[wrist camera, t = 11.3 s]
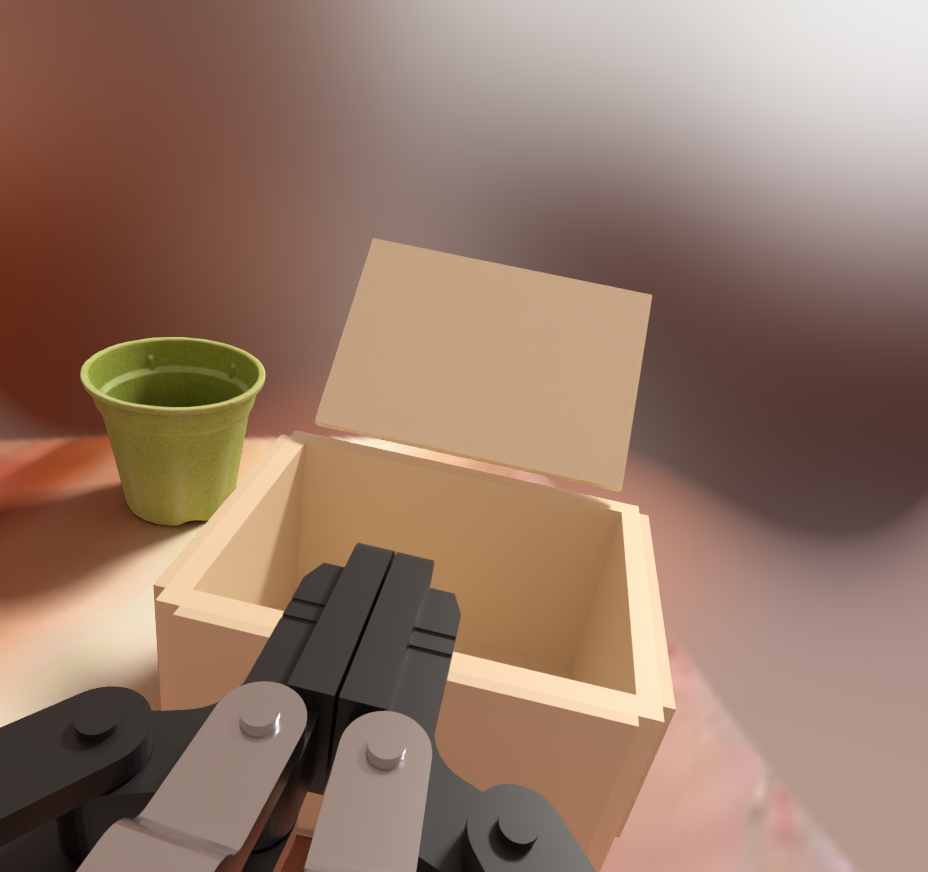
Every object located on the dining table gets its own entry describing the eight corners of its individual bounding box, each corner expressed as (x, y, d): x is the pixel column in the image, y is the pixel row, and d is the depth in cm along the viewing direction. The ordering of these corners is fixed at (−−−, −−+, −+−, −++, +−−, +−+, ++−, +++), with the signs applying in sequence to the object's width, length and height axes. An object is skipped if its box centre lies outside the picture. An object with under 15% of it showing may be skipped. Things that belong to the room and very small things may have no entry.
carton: (151, 807, 26) (136, 605, 22) (278, 593, 37) (286, 428, 33) (594, 922, 25) (679, 736, 21) (592, 667, 36) (647, 508, 32)
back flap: (314, 421, 32) (373, 238, 35) (316, 425, 32) (374, 244, 36) (621, 488, 31) (652, 295, 34) (619, 492, 31) (649, 300, 35)
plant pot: (210, 564, 38) (209, 425, 34) (56, 519, 40) (38, 379, 36) (286, 480, 47) (293, 360, 43) (157, 445, 48) (151, 325, 44)
